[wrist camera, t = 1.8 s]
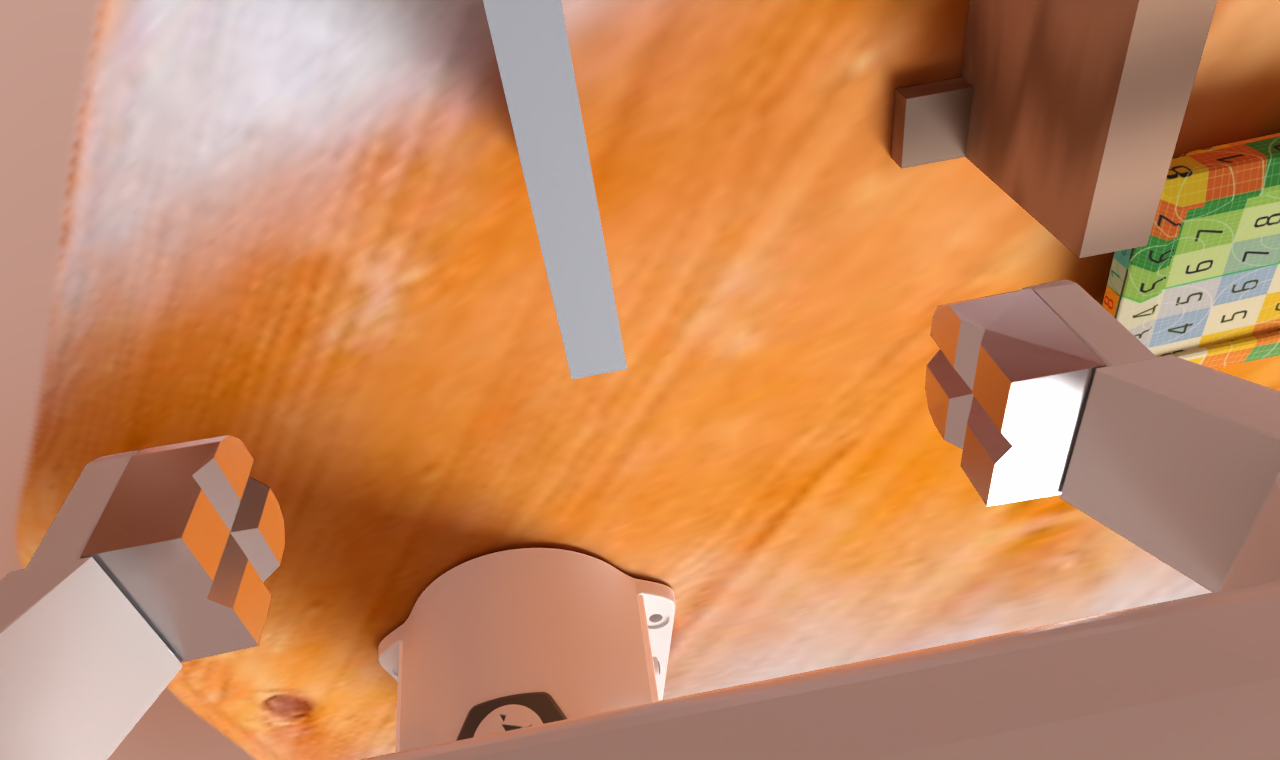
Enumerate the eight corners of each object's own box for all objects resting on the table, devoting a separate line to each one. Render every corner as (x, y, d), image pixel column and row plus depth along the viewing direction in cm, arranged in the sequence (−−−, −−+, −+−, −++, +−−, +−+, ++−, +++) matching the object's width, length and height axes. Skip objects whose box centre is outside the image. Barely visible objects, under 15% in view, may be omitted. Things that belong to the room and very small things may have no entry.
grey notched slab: (585, 168, 34) (627, 368, 24) (548, 175, 34) (571, 379, 24) (494, -333, 25) (491, -390, 14) (440, -324, 24) (394, -375, 14)
